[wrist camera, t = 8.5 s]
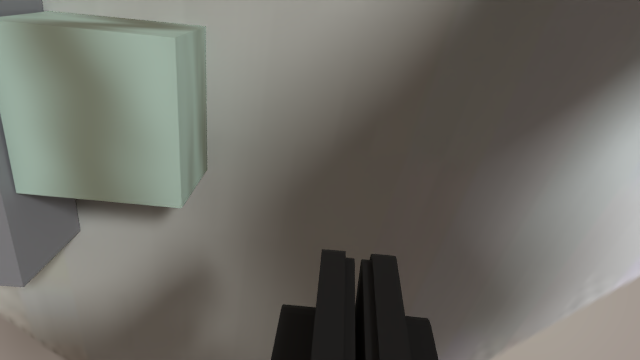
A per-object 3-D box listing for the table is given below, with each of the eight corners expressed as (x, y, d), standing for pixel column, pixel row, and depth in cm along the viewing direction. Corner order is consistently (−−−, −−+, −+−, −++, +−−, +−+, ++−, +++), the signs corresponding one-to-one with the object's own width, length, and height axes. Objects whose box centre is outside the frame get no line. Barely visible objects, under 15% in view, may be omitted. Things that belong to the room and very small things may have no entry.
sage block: (206, 26, 21) (175, 37, 16) (208, 167, 23) (181, 208, 19) (51, 10, 21) (-20, 18, 16) (72, 155, 23) (16, 192, 19)
